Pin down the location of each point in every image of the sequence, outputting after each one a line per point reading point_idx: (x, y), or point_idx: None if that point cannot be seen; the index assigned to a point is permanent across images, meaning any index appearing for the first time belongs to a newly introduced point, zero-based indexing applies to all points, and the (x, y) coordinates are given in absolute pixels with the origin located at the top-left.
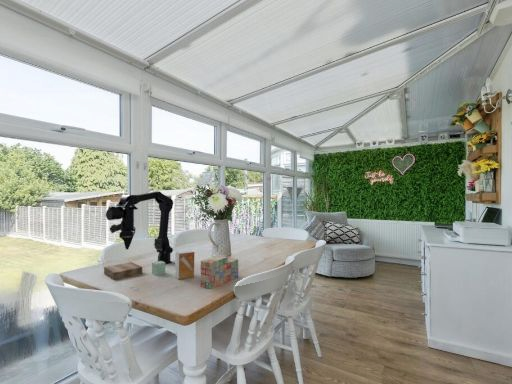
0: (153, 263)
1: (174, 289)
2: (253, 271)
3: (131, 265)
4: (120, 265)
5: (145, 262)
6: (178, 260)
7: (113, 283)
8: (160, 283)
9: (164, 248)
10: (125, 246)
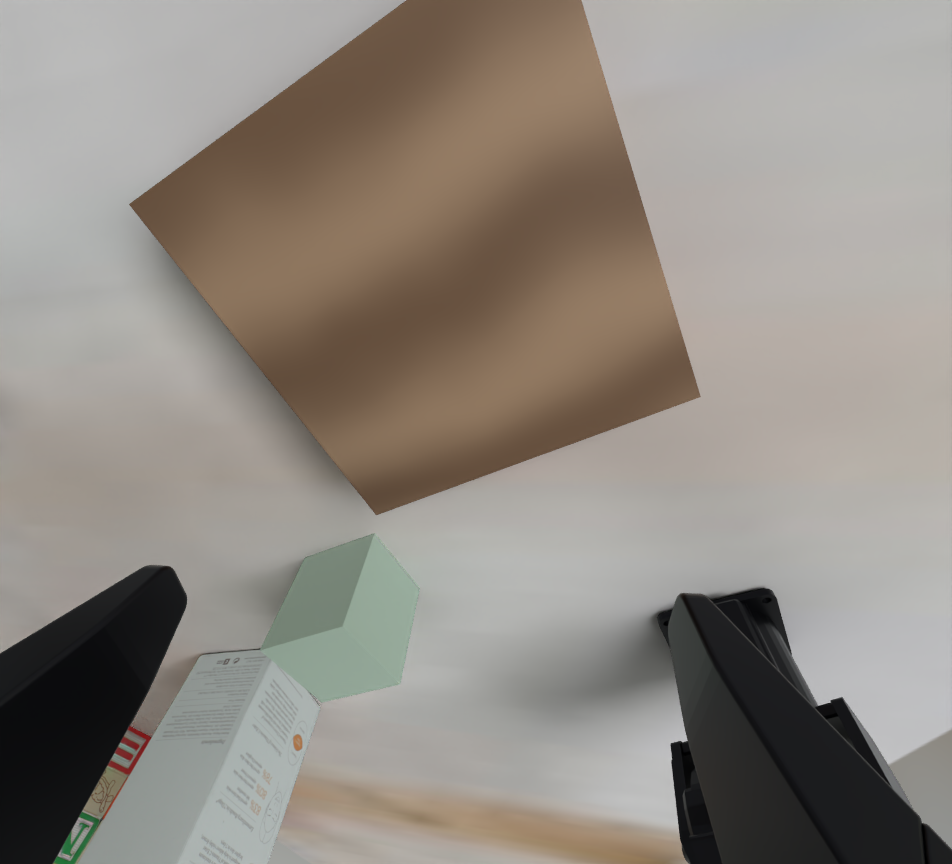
0: (313, 632)
1: (18, 619)
2: (319, 856)
3: (487, 407)
4: (545, 254)
5: (865, 494)
6: (121, 808)
7: (70, 211)
8: (119, 570)
9: (679, 816)
10: (41, 637)
